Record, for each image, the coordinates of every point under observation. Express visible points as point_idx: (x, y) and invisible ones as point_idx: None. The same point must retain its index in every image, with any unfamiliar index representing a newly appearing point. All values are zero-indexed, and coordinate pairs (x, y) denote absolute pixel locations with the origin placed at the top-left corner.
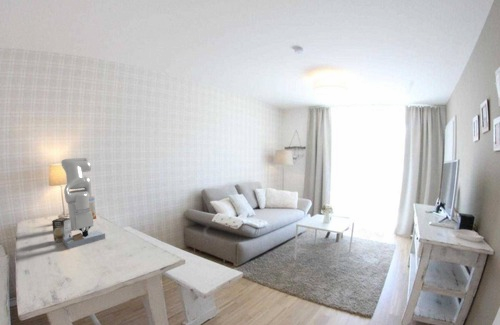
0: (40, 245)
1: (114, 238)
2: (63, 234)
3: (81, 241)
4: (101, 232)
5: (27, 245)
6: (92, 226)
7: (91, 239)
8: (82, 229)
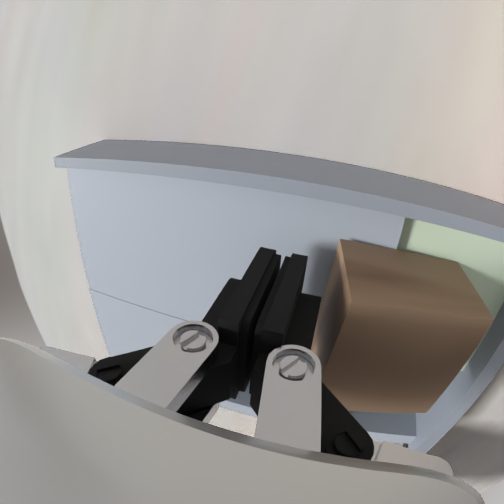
0: (474, 462)
1: (54, 59)
2: None
3: (394, 189)
4: (89, 276)
5: (476, 487)
6: (61, 350)
7: (237, 158)
8: (304, 413)
